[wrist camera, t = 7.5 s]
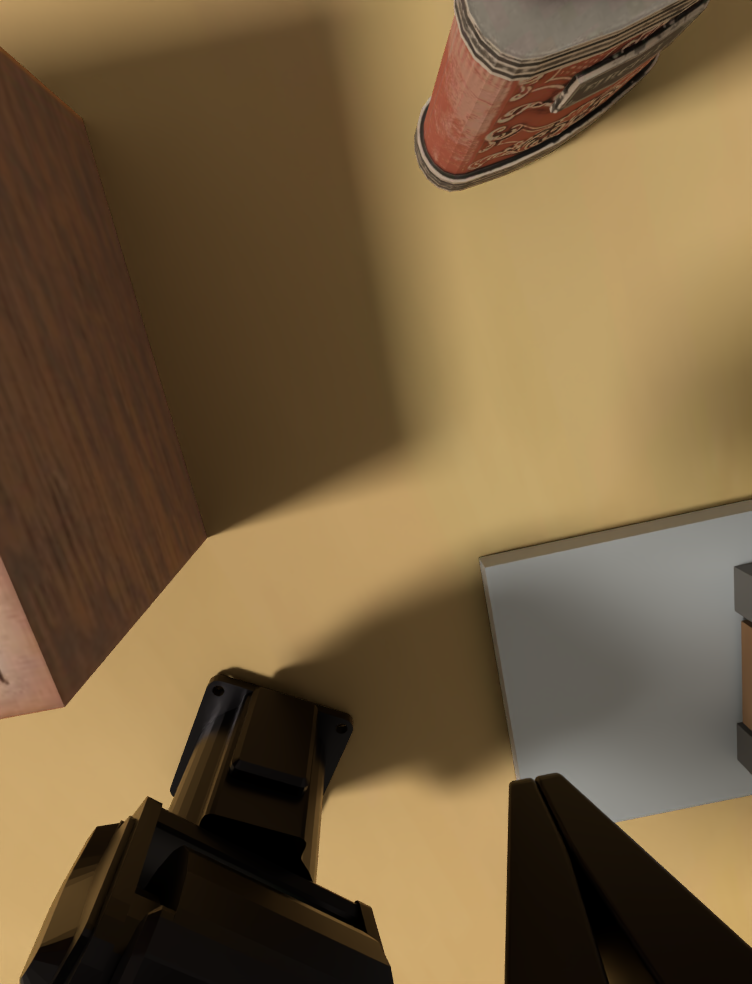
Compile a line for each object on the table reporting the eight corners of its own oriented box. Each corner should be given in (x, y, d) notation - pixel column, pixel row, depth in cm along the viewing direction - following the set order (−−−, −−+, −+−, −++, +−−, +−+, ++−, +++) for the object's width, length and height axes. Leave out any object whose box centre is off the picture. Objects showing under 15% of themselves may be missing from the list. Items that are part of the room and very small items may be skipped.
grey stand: (523, 819, 24) (577, 969, 18) (478, 557, 20) (528, 639, 14) (805, 762, 23) (953, 896, 17) (812, 486, 20) (1004, 538, 14)
